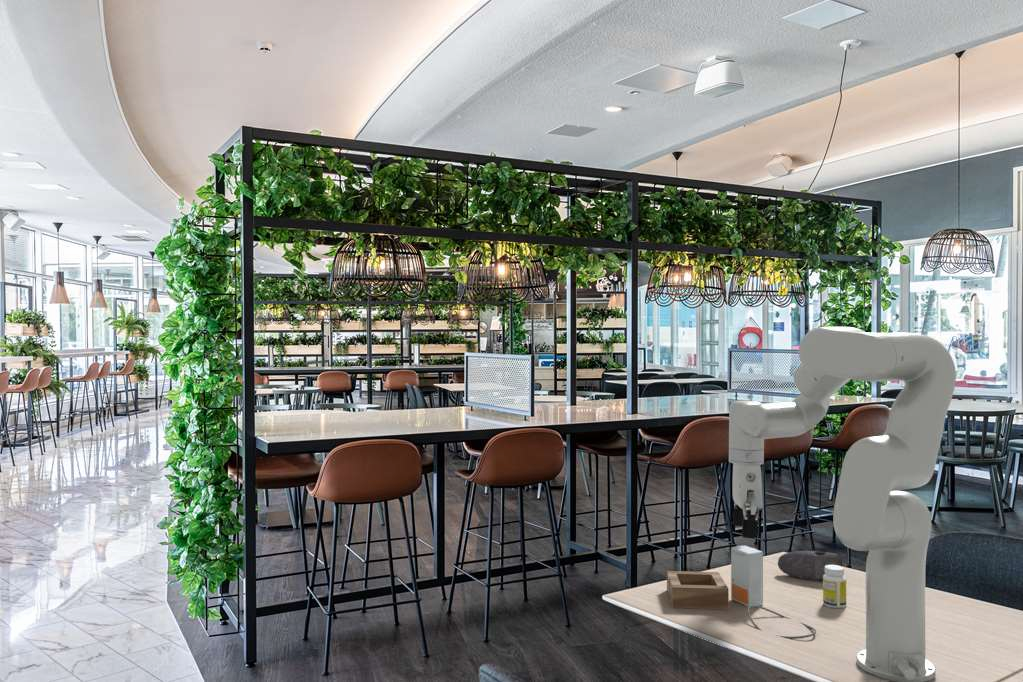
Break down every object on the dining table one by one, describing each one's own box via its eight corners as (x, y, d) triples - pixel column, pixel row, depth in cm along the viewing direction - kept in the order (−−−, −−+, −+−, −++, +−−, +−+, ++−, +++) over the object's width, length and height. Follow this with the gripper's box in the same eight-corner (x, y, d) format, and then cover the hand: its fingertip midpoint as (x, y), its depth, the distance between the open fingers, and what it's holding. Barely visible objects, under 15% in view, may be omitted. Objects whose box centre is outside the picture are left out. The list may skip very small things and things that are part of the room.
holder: (728, 609, 166) (728, 588, 166) (672, 607, 167) (672, 587, 167) (718, 591, 178) (718, 572, 178) (666, 590, 179) (666, 570, 179)
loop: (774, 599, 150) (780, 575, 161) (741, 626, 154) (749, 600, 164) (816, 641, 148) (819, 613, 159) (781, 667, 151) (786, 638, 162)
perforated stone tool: (775, 577, 189) (775, 549, 189) (779, 571, 194) (779, 544, 194) (841, 586, 182) (840, 557, 182) (843, 580, 186) (843, 552, 186)
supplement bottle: (842, 601, 171) (842, 564, 171) (849, 609, 166) (849, 570, 166) (820, 601, 171) (820, 563, 171) (826, 608, 167) (826, 570, 167)
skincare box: (730, 599, 172) (730, 546, 172) (744, 597, 174) (744, 544, 174) (749, 608, 167) (749, 553, 167) (764, 605, 169) (763, 551, 169)
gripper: (772, 463, 162) (771, 543, 162) (754, 450, 179) (753, 522, 179) (736, 462, 163) (735, 541, 163) (722, 449, 180) (721, 521, 180)
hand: (745, 531), depth 171 cm, fingers open, 9 cm apart
